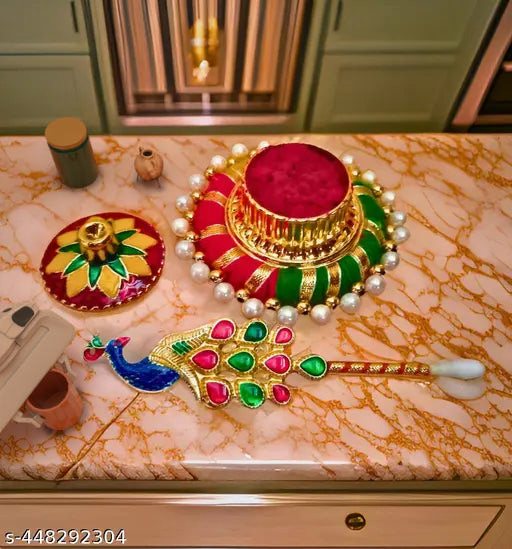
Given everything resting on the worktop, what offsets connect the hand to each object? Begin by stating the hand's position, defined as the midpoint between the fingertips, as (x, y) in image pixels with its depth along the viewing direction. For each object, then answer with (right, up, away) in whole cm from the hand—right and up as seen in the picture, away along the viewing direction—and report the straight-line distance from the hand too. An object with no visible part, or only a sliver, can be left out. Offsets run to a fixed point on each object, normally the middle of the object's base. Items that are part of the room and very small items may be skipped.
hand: (58, 400), depth 89 cm
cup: (-1, -2, +4) cm, 5 cm away
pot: (+9, +40, +32) cm, 51 cm away
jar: (-6, +41, +32) cm, 52 cm away
